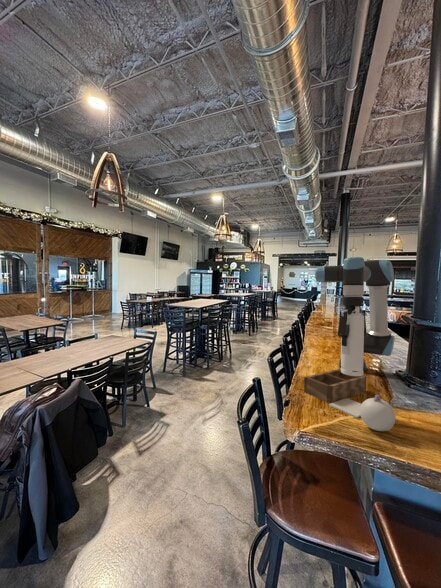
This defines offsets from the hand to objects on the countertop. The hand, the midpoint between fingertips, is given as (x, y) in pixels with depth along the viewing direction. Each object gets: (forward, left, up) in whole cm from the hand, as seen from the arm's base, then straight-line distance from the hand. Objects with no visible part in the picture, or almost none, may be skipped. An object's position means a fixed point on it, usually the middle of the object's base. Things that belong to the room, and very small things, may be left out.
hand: (352, 352), depth 105 cm
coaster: (0, 0, -23) cm, 23 cm away
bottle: (0, 0, -8) cm, 8 cm away
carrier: (-9, -14, -23) cm, 28 cm away
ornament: (+7, +14, -23) cm, 28 cm away
